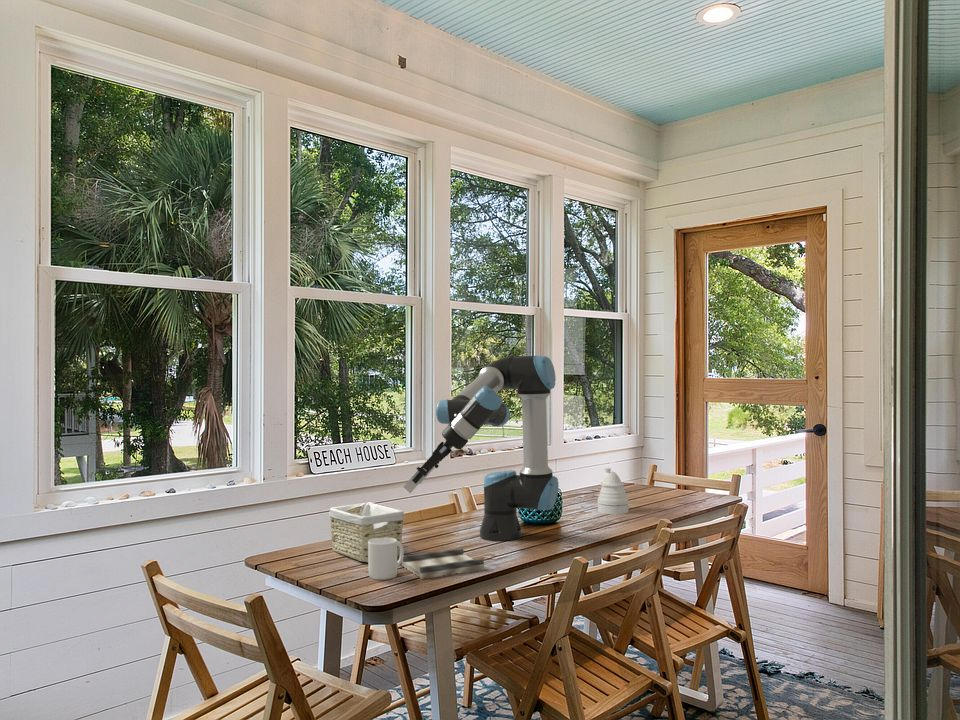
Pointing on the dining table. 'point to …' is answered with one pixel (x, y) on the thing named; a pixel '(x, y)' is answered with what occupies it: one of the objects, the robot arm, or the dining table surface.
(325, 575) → the dining table surface
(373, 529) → the storage basket
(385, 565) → the cup
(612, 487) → the honey pot
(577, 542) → the dining table surface
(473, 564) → the rail board
